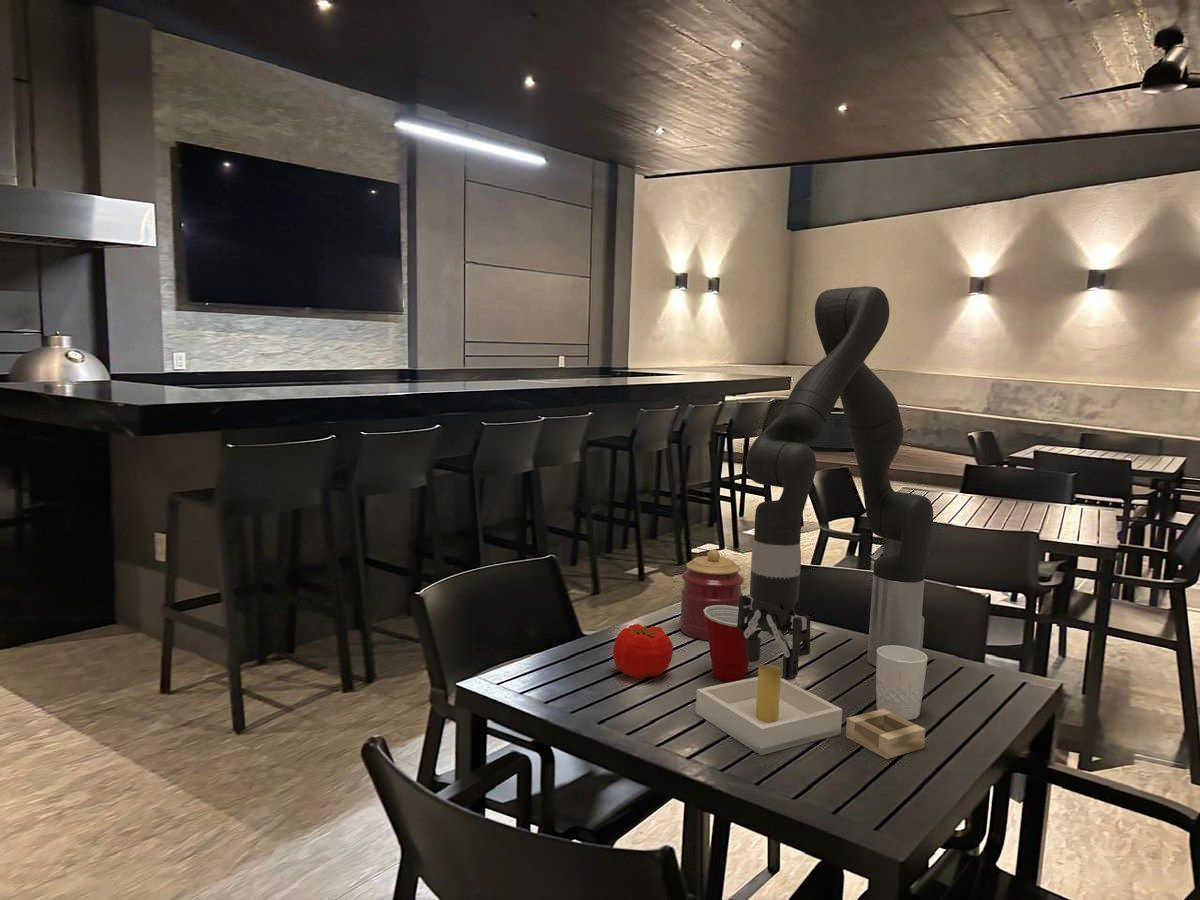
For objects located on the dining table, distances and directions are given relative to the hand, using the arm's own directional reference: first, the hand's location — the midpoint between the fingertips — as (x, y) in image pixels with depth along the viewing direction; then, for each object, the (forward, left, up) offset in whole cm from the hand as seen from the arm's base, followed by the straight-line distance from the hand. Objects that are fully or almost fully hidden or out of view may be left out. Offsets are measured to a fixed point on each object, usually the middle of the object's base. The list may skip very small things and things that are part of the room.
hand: (770, 669), depth 130 cm
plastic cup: (-7, -18, -9) cm, 21 cm away
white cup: (-23, +6, -9) cm, 25 cm away
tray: (0, 0, -9) cm, 9 cm away
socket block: (-12, +13, -9) cm, 20 cm away
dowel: (0, 0, -8) cm, 8 cm away
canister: (-19, -40, -9) cm, 45 cm away
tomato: (+7, -26, -9) cm, 28 cm away
